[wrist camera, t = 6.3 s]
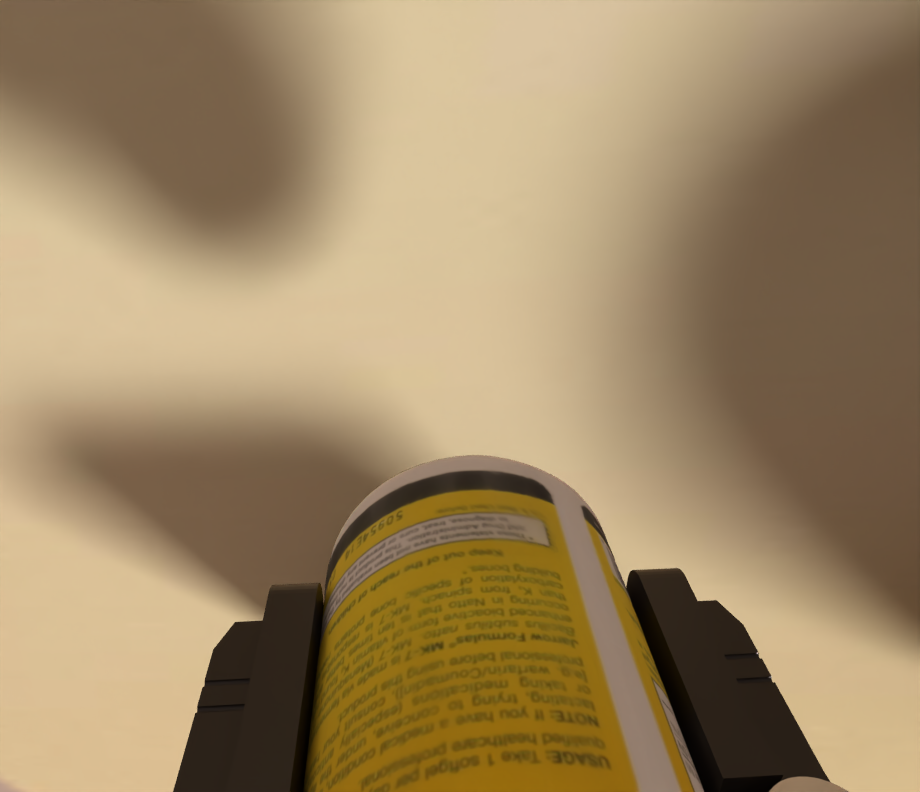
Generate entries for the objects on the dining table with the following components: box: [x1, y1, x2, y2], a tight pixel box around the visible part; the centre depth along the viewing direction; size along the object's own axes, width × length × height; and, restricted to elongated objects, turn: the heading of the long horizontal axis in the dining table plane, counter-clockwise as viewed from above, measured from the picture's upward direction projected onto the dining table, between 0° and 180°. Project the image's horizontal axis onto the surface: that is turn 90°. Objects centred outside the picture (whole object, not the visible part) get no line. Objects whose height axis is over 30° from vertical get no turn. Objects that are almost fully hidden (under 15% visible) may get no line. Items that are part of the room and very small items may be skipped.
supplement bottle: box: [303, 455, 704, 792], centre depth 9 cm, size 5×5×8 cm
